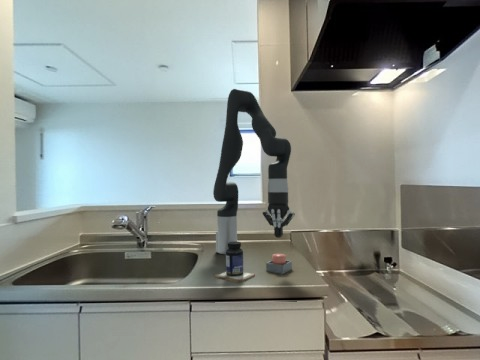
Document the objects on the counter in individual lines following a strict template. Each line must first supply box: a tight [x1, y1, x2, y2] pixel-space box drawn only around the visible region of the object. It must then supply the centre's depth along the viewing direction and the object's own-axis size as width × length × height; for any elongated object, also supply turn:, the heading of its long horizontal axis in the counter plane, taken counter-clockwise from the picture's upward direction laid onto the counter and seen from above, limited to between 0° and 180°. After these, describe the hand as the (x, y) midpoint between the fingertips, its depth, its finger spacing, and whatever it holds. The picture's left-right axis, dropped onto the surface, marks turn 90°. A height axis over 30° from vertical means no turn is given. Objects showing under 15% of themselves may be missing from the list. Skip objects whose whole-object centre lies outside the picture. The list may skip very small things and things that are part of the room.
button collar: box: [265, 259, 293, 275], centre depth 110 cm, size 7×7×3 cm
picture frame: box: [214, 270, 256, 284], centre depth 103 cm, size 11×9×1 cm
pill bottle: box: [225, 240, 244, 276], centre depth 103 cm, size 6×6×11 cm
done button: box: [271, 253, 287, 265], centre depth 110 cm, size 5×5×4 cm
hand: (278, 237), depth 110 cm, fingers closed
